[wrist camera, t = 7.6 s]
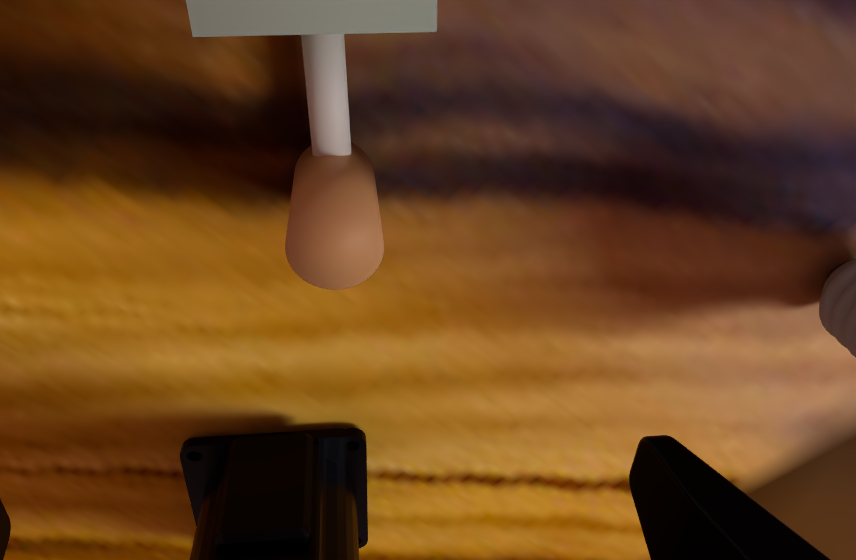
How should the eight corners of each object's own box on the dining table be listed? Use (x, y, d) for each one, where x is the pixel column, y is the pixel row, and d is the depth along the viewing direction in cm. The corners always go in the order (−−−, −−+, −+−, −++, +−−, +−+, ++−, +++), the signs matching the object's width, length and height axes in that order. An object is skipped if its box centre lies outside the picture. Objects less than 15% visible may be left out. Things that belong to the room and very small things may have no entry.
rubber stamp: (413, 201, 19) (433, 283, 15) (259, 209, 19) (240, 295, 15) (410, -208, 14) (439, -237, 10) (195, -212, 13) (140, -244, 10)
